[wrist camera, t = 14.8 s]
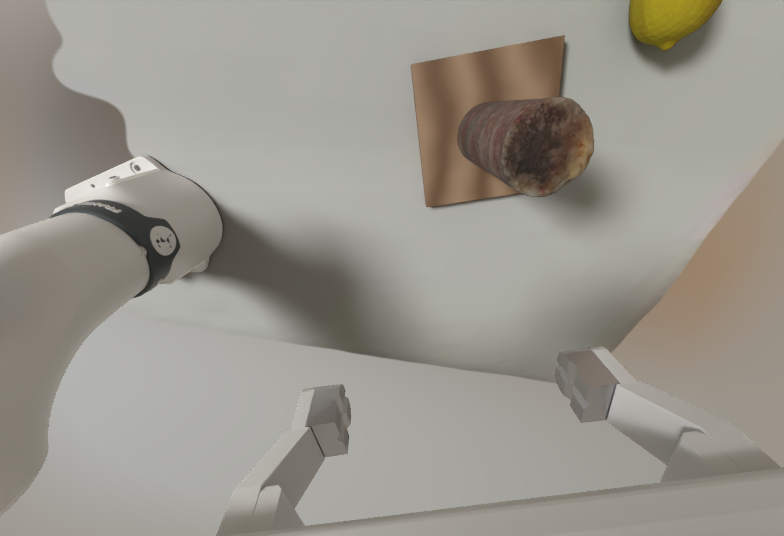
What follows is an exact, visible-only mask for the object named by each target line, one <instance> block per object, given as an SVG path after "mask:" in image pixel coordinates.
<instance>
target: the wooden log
mask: <svg viewBox="0 0 784 536" xmlns="http://www.w3.org/2000/svg"><path fill="white" fill-rule="evenodd" d="M457 143H458V147H459V150H460V152H461V153H462V155H463V156H464V157H465V158H466V159H468V160H469V161H471V162H472V163H474V164H475V165H477V166H479V167H480V168H482V169H484V170H485V171H487V172H488V173H490V174H491V175H493V176H494V177H496V178H498V179H499V180H501V181H502V182H503V183H505V184H506V185H508V186H510V187H511V188H513V189H514V190H516V191H518V192H520V193H522V194H524V195H527V196H532V197H542V196H548V195H550V194H552V193H555V192H557V191H558V190H559V189H560V188H561V187H563V186H564V185H565V184H567V183H568V182H569V181H571V180H572V179H575V178H578V177H579V176H580V174H582V173H583V171H584V170H585V169H586V167H587V165H588V163H589V160H590V158H591V156H592V154H593V152H594V139H593V128H592V124H591V122H590V119H589V117H588V116H587V115H586V113H585V111H584V110H583V109H582V108H581V107H580V105H579V104H577V103H576V102H575V101H574V100H572V99H569V98H565V97H549V98H541V99H526V100H510V101H493V102H485V103H481V104H478V105H476V106H475V107H473V108H472V109H471V110H469V111H468V113H467V114H466V115H465V116H464V118H463V119H462V121H461V123H460V125H459V128H458V133H457Z"/></svg>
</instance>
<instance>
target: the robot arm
mask: <svg viewBox="0 0 784 536" xmlns="http://www.w3.org/2000/svg"><path fill="white" fill-rule="evenodd" d="M138 166H139V167H140V169H139V168H138ZM65 200H66V204H65V205H62V206H60V207H58V208H56V209H55V210H54V213H53V215H52V216H51V217H50V218H49V219H47V220H44V221H41V222H38V223H35V224H32V225H29V226H26V227H23V228H20V229H17V230H14V231H11V232H8V233H5V234H2V235H0V516H1V515H3V514H4V513H5V512H6V511H7V510H8V509H9V508H10V507H11V506H12V505H13V504H14V503H15V502H16V501H17V500H18V499H19V498H20V497H21V496H22V495H23V494H24V493H25V491H26V490H27V489H28V488H29V486H30V485H31V484H32V482H33V481H34V479H35V478H36V476H37V475H38V473H39V471H40V469H41V468H42V466H43V463H44V461H45V459H46V457H47V453H48V427H49V418H50V413H51V408H52V404H53V401H54V398H55V395H56V392H57V390H58V387H59V385H60V382H61V380H62V378H63V376H64V374H65V372H66V369H67V367H68V365H69V364H70V362H71V360H72V358H73V357H74V355H75V354H76V352H77V350H78V349H79V347H80V346H81V345H82V343H83V342H84V341H85V339H86V338H87V337H88V336H89V335H90V334H91V333H92V332H93V331H94V330H95V328H97V327H98V326H99V325H100V324H101V323H102V322H104V321H105V320H106V319H107V318H108V317H109V316H110V315H112V314H113V313H114V312H115V311H117V310H118V309H119V308H120V307H121V306H123V305H124V304H125V303H127V302H128V301H129V300H130V299H132V298H136V297H139V296H141V295H143V294H144V293H146V292H148V291H150V290H152V289H153V288H154V287H156V286H157V285H158V284H165V283H166V284H171V283H174V282H175V281H177V280H178V279H180V278H181V277H183V276H184V275H186V274H187V273H189V272H202V271H204V270H205V269H206V268H207V267H208V264H209V258H210V255H211V254H212V253H213V252H214V250H215V249H216V248H217V247H218V245H219V243H220V241H221V238H222V231H223V230H222V221H221V217H220V214H219V212H218V210H217V208H216V206H215V204H214V203H213V201H212V200H211V199H210V197H209V196H208V195H207V194H206V193H205V192H204V191H203V190H202V189H201V188H200V187H198V186H197V185H196V184H194V183H193V182H192V181H190V180H188V179H186V178H185V177H182V176H180V175H178V174H175V173H173V172H171V171H169V170H167V169H165V168H164V167H163V166H162V165H160V164H159V163H158V162H157V161H155V160H154V159H153V158H151V157H149V156H147V155H141V156H139V157H136V158H134V159H132V160H130V161H127V162H125V163H123V164H121V165H119V166H116V167H114V168H112V169H110V170H108V171H106V172H103V173H101V174H99V175H97V176H94V177H92V178H90V179H88V180H86V181H83V182H81V183H79V184H77V185H75V186H72V187H70V188H68V189H67V190H66V191H65ZM557 361H558V362H559V364H560V365H559V366H558V367H557V368H556V374H555V376H556V381H557V384H558V386H559V388H560V390H561V392H562V393H563V395H564V396H566V397H568V398H569V399H571V404H570V406H571V408H572V409H573V411H574V412H575V414H576V415H577V417H578V419H579V420H580V422H581V423H582V422H592V421H602V420H607V422H608V423H609V424H611V425H612V426H614V427H615V428H616V429H618V430H619V431H620V432H622V433H623V434H625V435H626V436H627V437H629V438H630V439H631V440H633V441H634V442H636V443H637V444H638V445H640V446H642V447H643V448H644V449H645V450H647V451H648V452H649V453H651V454H652V455H654V456H655V457H657V458H658V459H659V460H660V461H662V462H663V463H665V464H666V465H667V467H666V469H665V471H664V473H663V475H662V478H661V483H653V484H645V485H637V486H629V487H621V488H613V489H604V490H596V491H588V492H580V493H571V494H563V495H555V496H547V497H538V498H530V499H522V500H513V501H505V502H497V503H489V504H481V505H473V506H465V507H456V508H448V509H440V510H432V511H424V512H416V513H409V514H400V515H392V516H383V517H375V518H367V519H359V520H351V521H343V522H334V523H326V524H319V525H310V526H305V525H304V524H303V522H302V521H301V519H300V517H299V516H298V514H297V513H296V511H295V507H296V505H297V504H298V502H299V500H300V499H301V497H302V496H303V494H304V492H305V491H306V489H307V487H308V486H309V484H310V482H311V481H312V479H313V478H314V476H315V474H316V473H317V471H318V469H319V468H320V466H321V464H322V463H323V461H324V460H325V458H324V457H329V456H336V455H342V454H347V453H348V443H349V434H348V431H347V428H348V427H349V425H350V422H351V421H350V420H351V408H350V403H349V400H348V398H347V397H345V389H344V386H343V385H332V386H323V387H316V388H308V389H303V391H302V392H301V395H300V398H299V402H298V405H297V409H296V413H295V416H294V420H293V424H292V427H291V429H289V430H286V431H285V433H284V434H283V435H282V436H281V437H280V438H279V439H278V440H277V442H276V443H275V444H274V445H273V446H272V447H271V449H270V450H269V451H268V452H267V453H266V454H265V455H264V456H263V457H262V459H261V460H260V461H259V462H258V463H257V464H256V465H255V466H254V468H253V469H252V470H251V471H250V472H249V473H248V474H247V475H246V477H245V478H244V479H243V480H242V481H241V482H240V483H239V485H238V486H237V487H236V488H235V489H234V491H233V494H232V496H231V499H230V501H229V504H228V507H227V509H226V512H225V515H224V517H223V520H222V522H221V525H220V527H219V530H218V533H217V535H216V536H784V467H783V468H781V467H780V466H779V465H778V464H777V463H775V462H774V461H773V460H772V459H771V458H770V457H769V456H768V455H767V454H766V453H764V452H763V451H762V450H761V449H760V448H759V447H758V446H756V444H754V443H753V442H752V441H751V440H750V439H749V438H748V437H747V436H746V435H744V434H743V433H742V432H741V431H740V430H739V429H738V428H737V427H736V426H734V425H733V424H731V423H729V422H726V421H724V420H722V419H720V418H718V417H716V416H714V415H712V414H710V413H708V412H706V411H703V410H701V409H699V408H697V407H695V406H693V405H691V404H689V403H687V402H685V401H683V400H681V399H679V398H676V397H674V396H672V395H670V394H668V393H666V392H664V391H662V390H660V389H658V388H656V387H654V386H652V385H649V384H647V383H645V382H643V381H636V379H635V378H634V377H633V376H632V375H631V374H630V373H629V372H628V371H627V370H626V369H625V368H624V367H623V366H622V365H621V364H620V363H619V361H618V360H617V359H616V358H615V357H614V356H613V355H612V354H611V353H610V352H609V351H608V350H607V349H606V348H605V347H603V346H600V347H594V348H588V349H579V350H573V351H567V352H560V353H559V354H558V358H557Z"/></svg>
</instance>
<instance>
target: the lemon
mask: <svg viewBox="0 0 784 536" xmlns="http://www.w3.org/2000/svg"><path fill="white" fill-rule="evenodd" d="M721 2H722V0H630V5H629V25H630V29H631V31H632V33H633V35H634V36H635V38H636V39H637V40H639V41H640V42H642V43H645V44H650V45H654V46H657V47H658V48H660V49H661V50H663V51H667V50H668V49H670V48H671V47H673V46H674V45H675V44H676V43H677V42H678V41H679V40H680V39H682V38H683V37H685V36H687V35H689V34H690V33H692V32H694V31H696V30H697V29H699V28H700V27H701V26H702V25H703V24H704V23H706V21H707V20H708V19H709V18H710V17H711V16H712V15H713V14H714V12H715V11H716V10H717V8H718V7H719V5H720V4H721Z"/></svg>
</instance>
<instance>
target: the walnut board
mask: <svg viewBox="0 0 784 536" xmlns="http://www.w3.org/2000/svg"><path fill="white" fill-rule="evenodd" d="M564 38H565V35H563V36H558V37H553V38H548V39H542V40H537V41H532V42H526V43H521V44H516V45H511V46H505V47H500V48H495V49H490V50H484V51H479V52H474V53H469V54H463V55H458V56H453V57H448V58H442V59H437V60H432V61H427V62H421V63H416V64H411V72H412V81H413V90H414V100H415V109H416V118H417V128H418V137H419V146H420V156H421V165H422V174H423V184H424V193H425V202H426V207H432V206H439V205H446V204H452V203H459V202H465V201H472V200H478V199H485V198H491V197H498V196H504V195H511V194H518V193H520V192H518V191H516V190H514V189H513V188H511V187H510V186H508V185H506V184H505V183H503V182H502V181H501V180H499V179H498V178H496V177H494V176H493V175H491V174H490V173H488V172H487V171H485V170H484V169H482V168H480V167H479V166H477V165H475V164H474V163H472V162H471V161H469V160H468V159H466V158H465V157H464V156H463V155H462V153H461V152H460V150H459V147H458V143H457V133H458V128H459V125H460V123H461V121H462V119H463V118H464V116H465V115H466V114H467V113H468V111H469V110H471V109H472V108H473V107H475V106H476V105H478V104H481V103H485V102H493V101H510V100H526V99H541V98H549V97H559V92H560V81H561V70H562V60H563V49H564Z"/></svg>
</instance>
